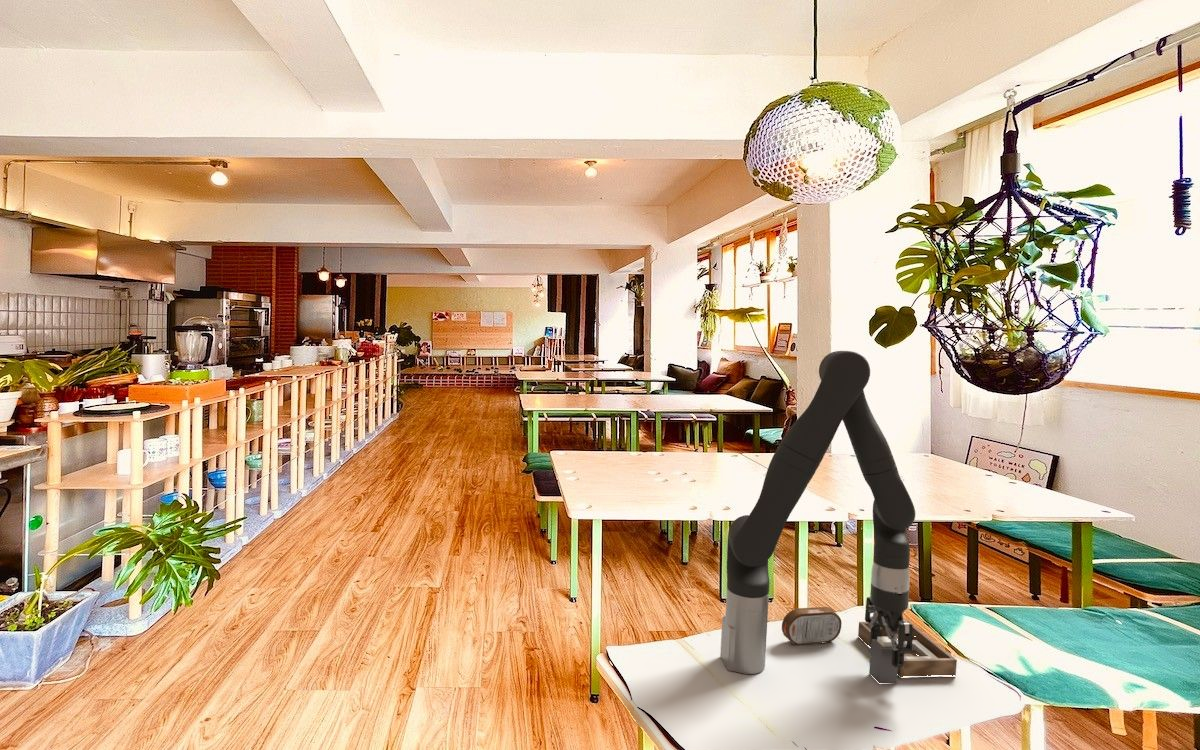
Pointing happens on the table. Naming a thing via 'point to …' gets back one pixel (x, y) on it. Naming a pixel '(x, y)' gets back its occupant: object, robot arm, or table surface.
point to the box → (929, 652)
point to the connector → (882, 661)
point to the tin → (811, 625)
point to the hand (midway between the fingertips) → (886, 655)
